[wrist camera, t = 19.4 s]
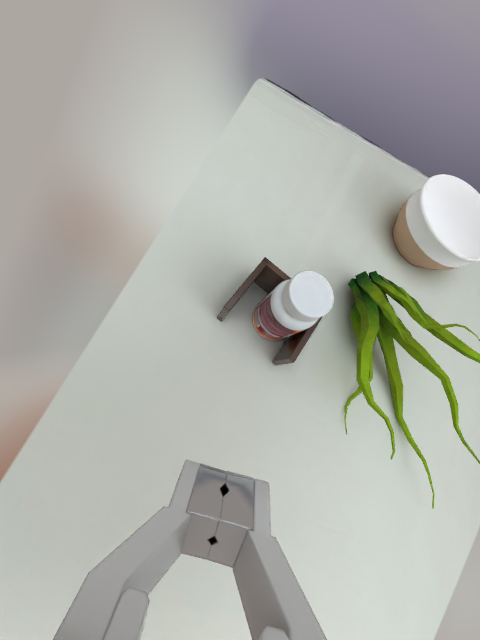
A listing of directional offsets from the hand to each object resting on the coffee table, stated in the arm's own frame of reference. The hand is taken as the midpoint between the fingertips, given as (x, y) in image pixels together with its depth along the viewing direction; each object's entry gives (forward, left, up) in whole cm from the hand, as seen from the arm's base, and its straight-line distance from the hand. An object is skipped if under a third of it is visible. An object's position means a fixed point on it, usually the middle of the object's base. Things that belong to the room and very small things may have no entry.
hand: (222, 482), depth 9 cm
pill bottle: (+2, +16, -23) cm, 28 cm away
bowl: (+16, +48, -23) cm, 56 cm away
